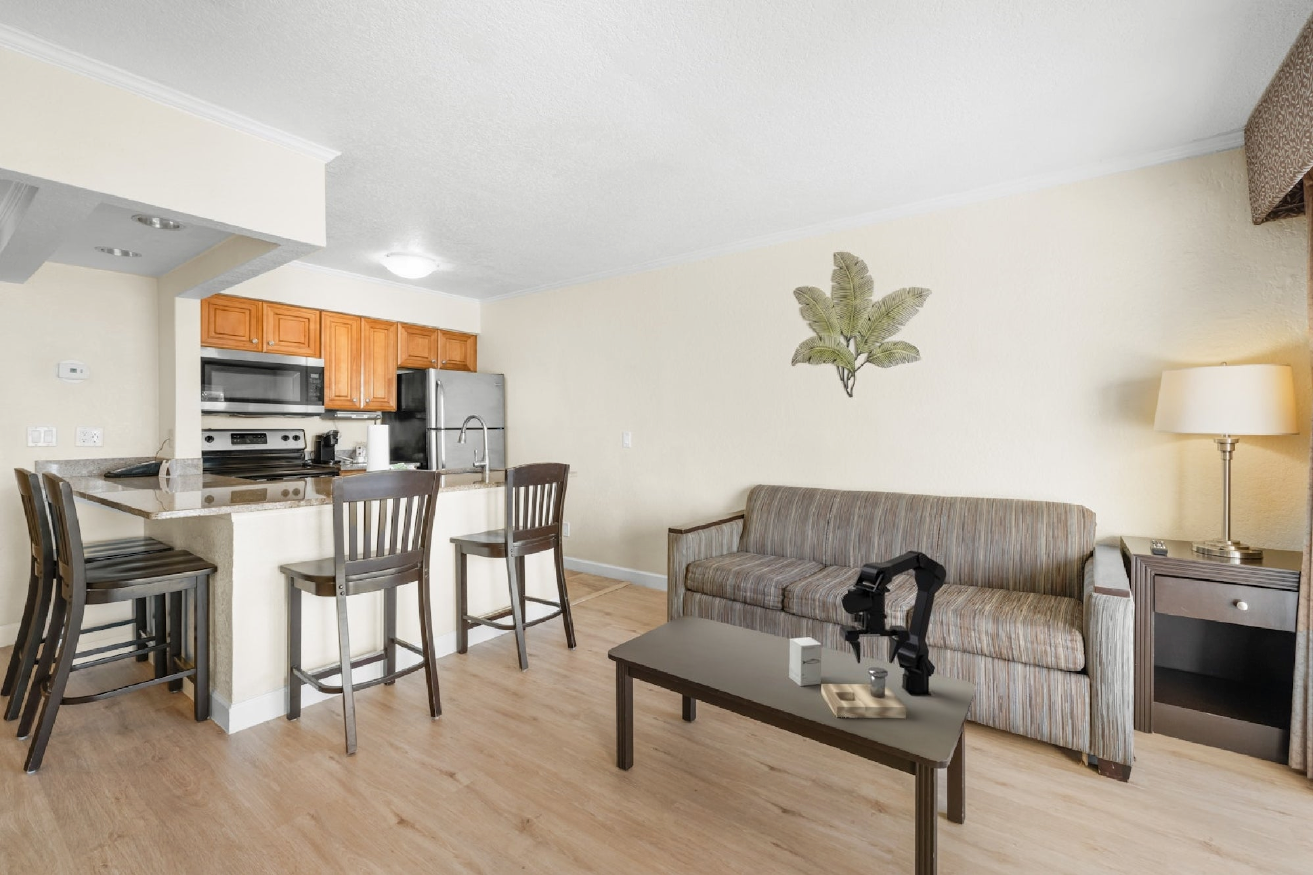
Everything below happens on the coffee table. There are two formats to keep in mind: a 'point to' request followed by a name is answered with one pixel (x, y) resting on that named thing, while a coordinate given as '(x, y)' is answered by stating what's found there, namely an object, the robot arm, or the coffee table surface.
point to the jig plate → (861, 702)
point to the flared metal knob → (877, 681)
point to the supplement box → (805, 661)
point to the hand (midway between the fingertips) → (874, 662)
